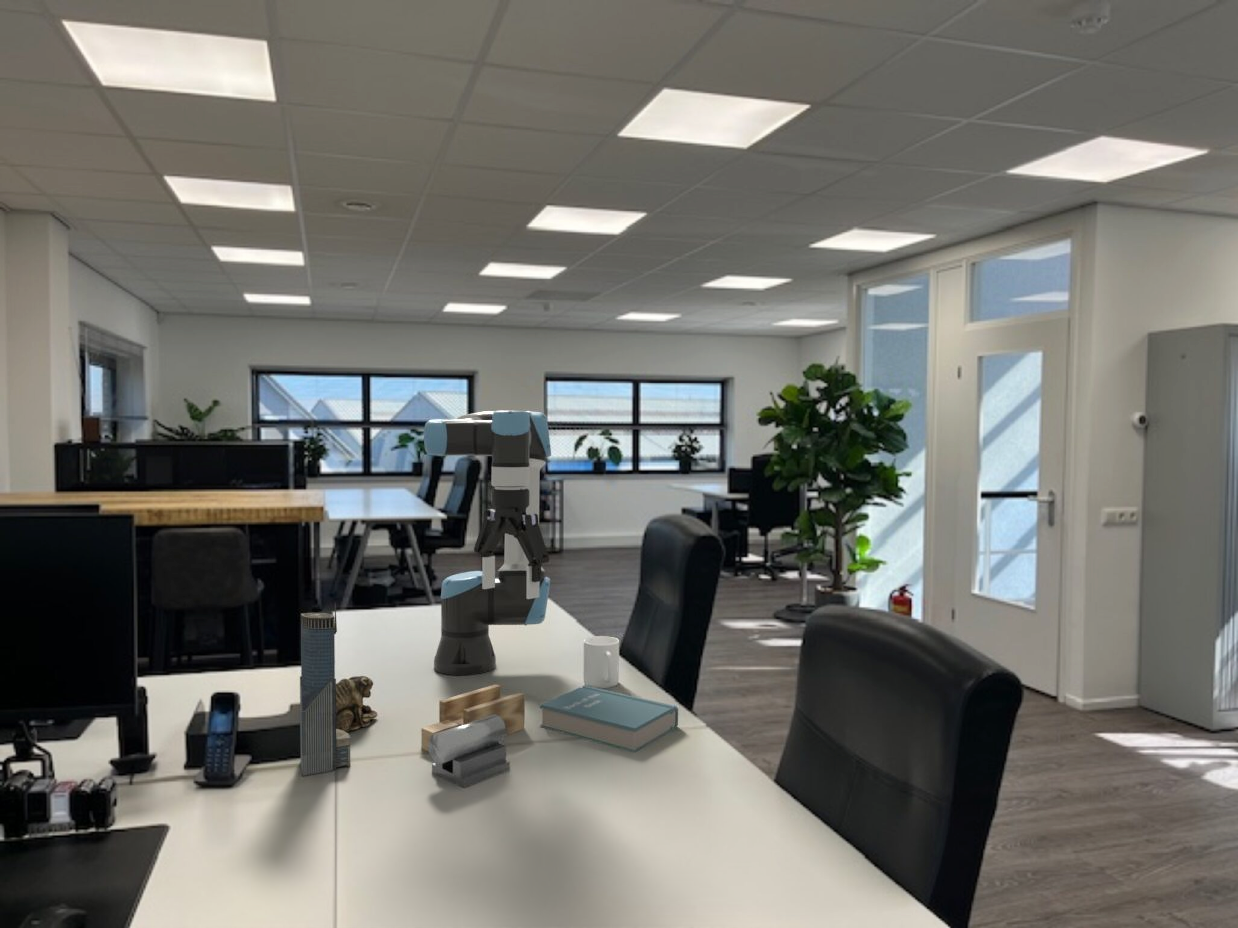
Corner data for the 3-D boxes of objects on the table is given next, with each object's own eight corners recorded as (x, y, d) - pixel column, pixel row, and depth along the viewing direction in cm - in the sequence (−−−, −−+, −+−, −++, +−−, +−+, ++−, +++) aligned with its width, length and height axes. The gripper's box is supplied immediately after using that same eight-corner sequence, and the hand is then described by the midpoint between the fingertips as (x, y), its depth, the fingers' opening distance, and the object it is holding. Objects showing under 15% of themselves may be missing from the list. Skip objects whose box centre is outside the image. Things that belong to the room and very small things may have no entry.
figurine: (388, 723, 171) (388, 674, 170) (321, 742, 160) (321, 690, 160) (372, 715, 175) (372, 668, 174) (306, 734, 164) (305, 683, 164)
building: (360, 760, 152) (359, 595, 150) (327, 780, 143) (325, 605, 142) (313, 752, 155) (311, 591, 153) (278, 771, 146) (276, 600, 145)
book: (540, 728, 169) (540, 704, 169) (587, 706, 183) (587, 684, 183) (634, 754, 157) (635, 728, 157) (677, 729, 170) (678, 704, 170)
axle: (487, 738, 153) (488, 711, 153) (505, 746, 150) (506, 718, 150) (428, 758, 144) (428, 730, 143) (445, 767, 140) (446, 738, 140)
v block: (463, 787, 141) (463, 764, 141) (431, 772, 147) (431, 749, 147) (509, 769, 148) (509, 747, 148) (477, 755, 154) (477, 734, 154)
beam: (495, 717, 174) (495, 684, 174) (524, 728, 168) (524, 694, 168) (413, 744, 159) (413, 708, 159) (441, 757, 153) (441, 719, 153)
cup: (612, 676, 203) (613, 634, 203) (628, 691, 192) (628, 647, 191) (579, 679, 201) (579, 637, 200) (593, 695, 189) (593, 650, 189)
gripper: (567, 490, 163) (566, 599, 164) (485, 483, 180) (485, 581, 181) (539, 492, 157) (538, 605, 159) (457, 484, 174) (457, 586, 175)
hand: (510, 593), depth 170 cm, fingers open, 13 cm apart
